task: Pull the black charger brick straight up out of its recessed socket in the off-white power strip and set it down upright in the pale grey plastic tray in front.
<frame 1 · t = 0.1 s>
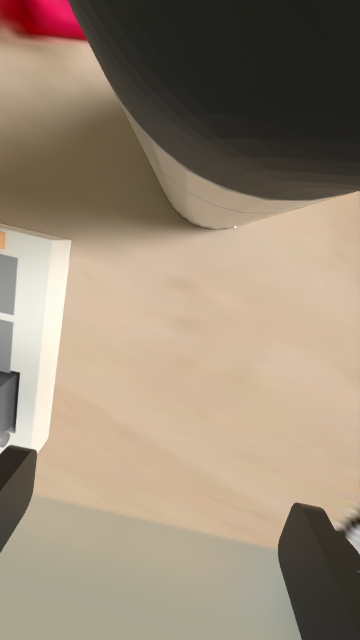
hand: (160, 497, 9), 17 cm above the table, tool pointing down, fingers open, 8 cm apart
power strip: (10, 338, 26), on the table
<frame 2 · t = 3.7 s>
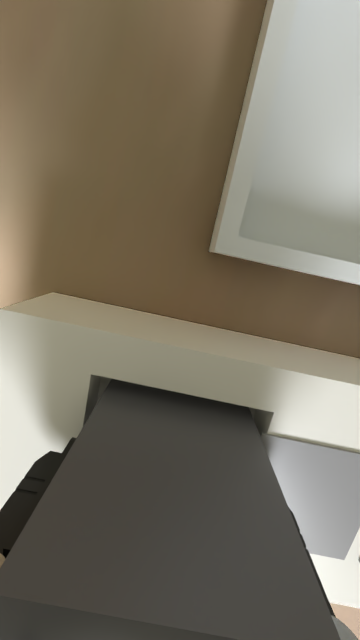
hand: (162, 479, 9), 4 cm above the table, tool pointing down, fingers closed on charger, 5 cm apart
charger: (167, 441, 11), point 2 cm above the table, touching gripper, power strip
power strip: (253, 430, 13), on the table
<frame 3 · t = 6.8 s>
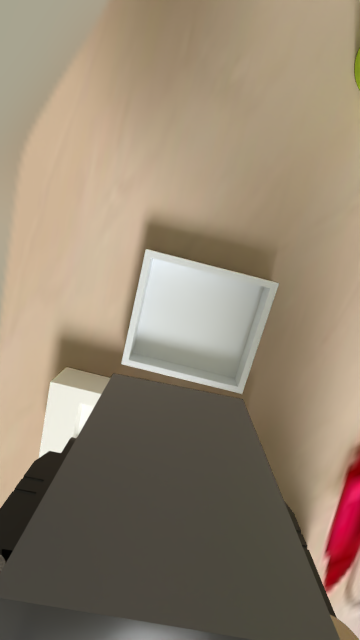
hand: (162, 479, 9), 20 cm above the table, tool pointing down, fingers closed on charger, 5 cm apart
tray: (196, 319, 28), on the table
charger: (165, 442, 11), point 18 cm above the table, touching gripper
power strip: (148, 425, 31), on the table
when the fingers open (4 cm above the table, at t = 9.8 s): charger drops 1 cm, resting on tray.
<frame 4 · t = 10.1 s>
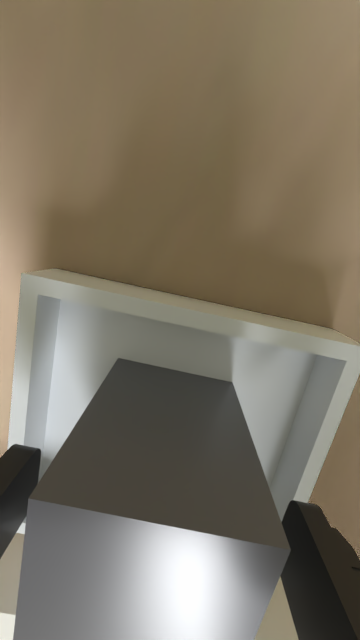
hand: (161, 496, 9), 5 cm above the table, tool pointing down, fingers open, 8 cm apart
tray: (169, 412, 13), on the table
charger: (163, 420, 13), point 1 cm above the table, touching tray
power strip: (90, 601, 16), on the table
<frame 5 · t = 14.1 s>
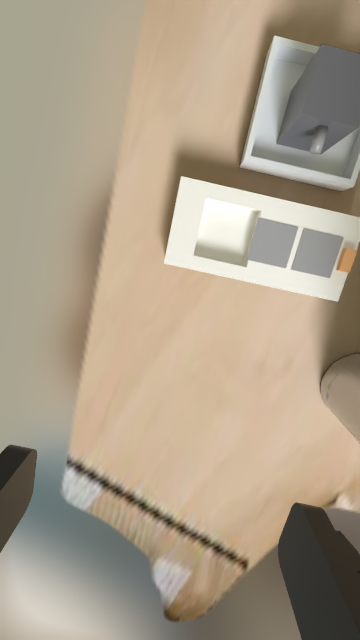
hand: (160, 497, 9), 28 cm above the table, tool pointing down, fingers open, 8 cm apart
tray: (306, 125, 31), on the table
charger: (306, 123, 30), point 1 cm above the table, touching tray
power strip: (255, 242, 34), on the table
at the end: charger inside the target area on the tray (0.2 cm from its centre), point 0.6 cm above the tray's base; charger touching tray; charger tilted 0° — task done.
